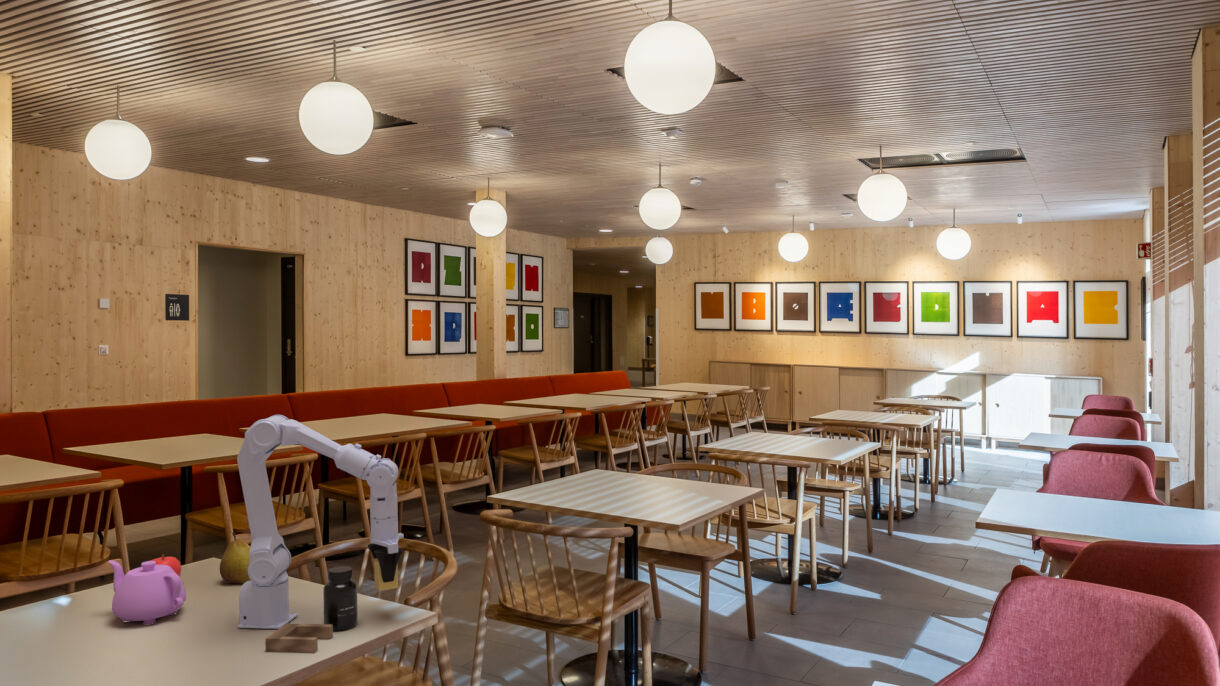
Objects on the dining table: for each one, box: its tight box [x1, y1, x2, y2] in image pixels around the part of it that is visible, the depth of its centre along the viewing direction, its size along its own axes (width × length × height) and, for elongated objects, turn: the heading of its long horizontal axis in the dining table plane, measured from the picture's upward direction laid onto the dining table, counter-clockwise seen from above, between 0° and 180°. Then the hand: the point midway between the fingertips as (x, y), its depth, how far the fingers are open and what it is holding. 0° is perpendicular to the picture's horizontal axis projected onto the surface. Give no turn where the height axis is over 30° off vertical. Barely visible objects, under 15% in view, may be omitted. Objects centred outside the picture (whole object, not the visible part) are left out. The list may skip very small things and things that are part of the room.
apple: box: [151, 553, 182, 578], centre depth 199 cm, size 8×8×8 cm
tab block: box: [373, 558, 399, 592], centre depth 175 cm, size 4×4×6 cm
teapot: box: [108, 559, 187, 625], centre depth 178 cm, size 20×14×12 cm
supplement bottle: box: [322, 565, 359, 632], centre depth 170 cm, size 7×7×12 cm
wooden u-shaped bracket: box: [264, 623, 334, 654], centre depth 161 cm, size 10×8×2 cm
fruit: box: [219, 531, 251, 585], centre depth 202 cm, size 9×9×12 cm
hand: (385, 578), depth 175 cm, fingers closed on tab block, 4 cm apart
